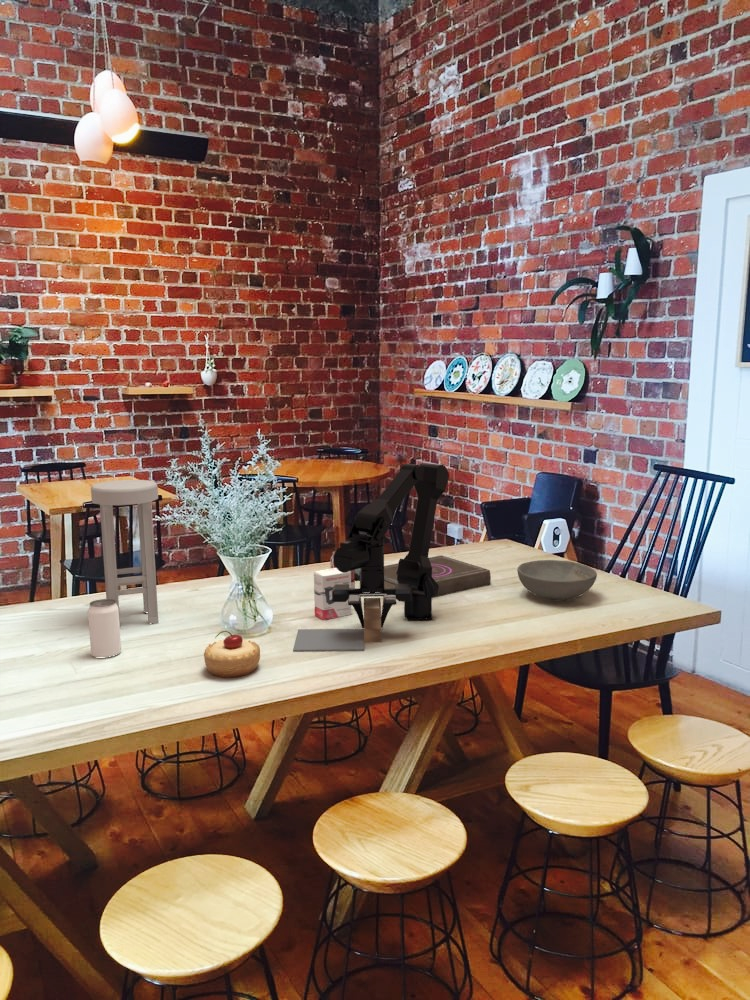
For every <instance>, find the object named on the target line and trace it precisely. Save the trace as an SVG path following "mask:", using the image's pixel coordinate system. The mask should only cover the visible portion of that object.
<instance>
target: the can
mask: <svg viewBox="0 0 750 1000" xmlns="http://www.w3.org/2000/svg"><path fill="white" fill-rule="evenodd" d="M87 614H88V617H87V618H88V631H89V632H88V633H89V644H90V654H91V656H92V657H93V656H95V657H109V656H113V655H116V654H118V653H119V654H120V653H121V652H122V641H121V639H122V638H121V622H120V623H119V614H120V608H119V609H118V606H117V604H116V600H114V599H106V598H99V599H95V600H93V601H90V602H89V607H88V610H87ZM119 654H118V655H119ZM95 657H94V658H95Z"/></svg>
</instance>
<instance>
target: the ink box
mask: <svg viewBox="0 0 750 1000" xmlns="http://www.w3.org/2000/svg"><path fill="white" fill-rule="evenodd" d="M335 584H349V589H351V571H349V572H346V573H343V572H340V571H339V570H338V569H337V568H332V569H331V568H326V569H321V570H316V571H314V572H313V591H314V593H313V595H314V616H315V617H317V618H318V619H320V620H322V621H326V620H331V619H335V618H340V617H344V616H351V615H352V605H348V600H347V601H346V602H333V601H332V590H333V586H334V585H335Z"/></svg>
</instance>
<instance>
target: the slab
mask: <svg viewBox="0 0 750 1000" xmlns="http://www.w3.org/2000/svg"><path fill="white" fill-rule="evenodd" d="M381 603H382V602H381V597H363V617H364V628H363V629H364V644H365V643H382V628H381V614H382V606H381V605H382V604H381Z"/></svg>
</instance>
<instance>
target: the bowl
mask: <svg viewBox="0 0 750 1000" xmlns="http://www.w3.org/2000/svg"><path fill="white" fill-rule="evenodd" d="M516 571H517V577H518V579H519V580H520V583H521V584H522V586H523V587H524V588H525V589H526V590H527V591H529V592H530V593H531V594H533V595H535V596H537V597H539V598H543V599H546V600H553V601H555V600H556V601H564V600H571V599H575V598H578V597H580V596H582V595H584V594H586V593H587V592H588V591H589V590H590V589H591V588H592V587H593V585H594V584H595V582H596V581H597V577H598V574H597V571H596V570H595V569H593V568H592V567H591V566H588V565H587V564H584V563H579V562H575V561H570V560H569V561H568V560H559V559H558V560H555V559H542V560H541V559H539V560H533V561H528V562H523V563H521V564H520V565H518V567H517V570H516Z"/></svg>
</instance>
